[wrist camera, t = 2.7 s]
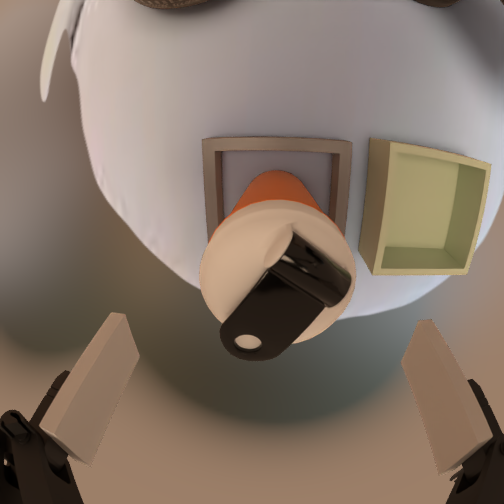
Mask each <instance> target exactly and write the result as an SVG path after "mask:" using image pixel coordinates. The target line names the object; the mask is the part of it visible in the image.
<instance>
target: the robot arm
mask: <svg viewBox="0 0 504 504" xmlns="http://www.w3.org/2000/svg"><path fill="white" fill-rule="evenodd" d="M414 1H417V2H419V3H422V4H425V5H428V6H433V7H448V6H450V5H452V4H454V3H456V2H458V1H460V0H414ZM500 1H501V2H502V4H503V5H504V0H500ZM139 357H140V356H139V354H138V351H137V348H136V345H135V343H134V340H133V337H132V334H131V331H130V328H129V325H128V322H127V319H126V315H125V314H119V313H111V314H110V315H109V316H108V318H107V319H106V321H105V322H104V324H103V325H102V326H101V328H100V329H99V331H98V332H97V333H96V335H95V336H94V338H93V339H92V341H91V342H90V344H89V345H88V346H87V348H86V349H85V351H84V352H83V354H82V356H81V357H80V358H79V360H78V361H77V363H76V365H75V366H74V368H73V370H72V371H71V372H69V371H66V370H65V371H64V372H63V373H61V374H60V375H59V376H58V377H57V378H56V379H55V381H54V382H53V384H52V385H51V388H50V389H49V390H48V392H47V395H46V396H45V397H44V398H43V400H42V401H41V403H40V405H39V406H38V408H37V410H36V412H35V413H34V415H33V417H32V418H31V420H30V421H29V422H28V421H27V420H26V419H25V418H24V417H23V415H22V414H21V413H20V412H19V411H16V410H9V411H7V412H5V413H4V414H3V415H2V416H1V418H0V504H84V503H83V501H82V498H81V496H80V493H79V490H78V487H77V485H76V482H75V479H74V476H73V473H72V470H71V467H70V464H69V462H68V460H67V457H68V455H70V456H71V457H72V458H73V459H74V460H75V461H78V462H80V463H82V464H84V465H87V466H89V467H91V464H92V462H93V459H94V457H95V454H96V452H97V450H98V447H99V445H100V442H101V440H102V438H103V435H104V433H105V431H106V428H107V426H108V424H109V421H110V419H111V417H112V415H113V412H114V410H115V408H116V406H117V404H118V401H119V399H120V397H121V395H122V393H123V390H124V388H125V386H126V384H127V382H128V380H129V378H130V376H131V374H132V372H133V369H134V367H135V365H136V363H137V361H138V359H139ZM401 365H402V367H403V370H404V372H405V374H406V377H407V380H408V382H409V385H410V387H411V390H412V393H413V395H414V398H415V401H416V404H417V406H418V409H419V412H420V415H421V418H422V421H423V424H424V427H425V430H426V433H427V436H428V439H429V443H430V446H431V449H432V453H433V456H434V460H435V463H436V467H437V471H438V475H439V476H440V475H442V474H445V473H448V472H450V471H453V470H454V469H456V468H457V467H458V466H460V465H461V464H462V466H463V468H462V469H461V470H460V471H458V472H457V473H456V474H454V475H453V476H452V477H451V478H450V481H452V480H453V479H455V478H456V477H457V479H456V480H455V481H454V482H455V485H454V487H453V489H452V491H451V493H450V495H449V498H448V500H447V502H446V504H504V434H503V433H502V431H501V429H500V427H499V425H498V422H497V420H496V418H495V416H494V414H493V412H492V409H491V407H490V405H488V401H487V399H486V398H485V395H484V393H483V391H482V389H481V387H480V386H479V385H478V384H477V383H476V382H475V381H474V380H473V379H470V380H467V379H466V377H465V375H464V373H463V372H462V370H461V368H460V366H459V364H458V362H457V361H456V359H455V357H454V355H453V354H452V352H451V350H450V348H449V347H448V345H447V344H446V342H445V340H444V338H443V337H442V335H441V333H440V332H439V330H438V328H437V327H436V326H435V324H434V322H433V321H432V319H429V320H419V321H418V323H417V326H416V328H415V331H414V333H413V336H412V338H411V341H410V343H409V345H408V347H407V350H406V352H405V354H404V356H403V359H402V361H401ZM4 459H6V460H7V465H4Z"/></svg>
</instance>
